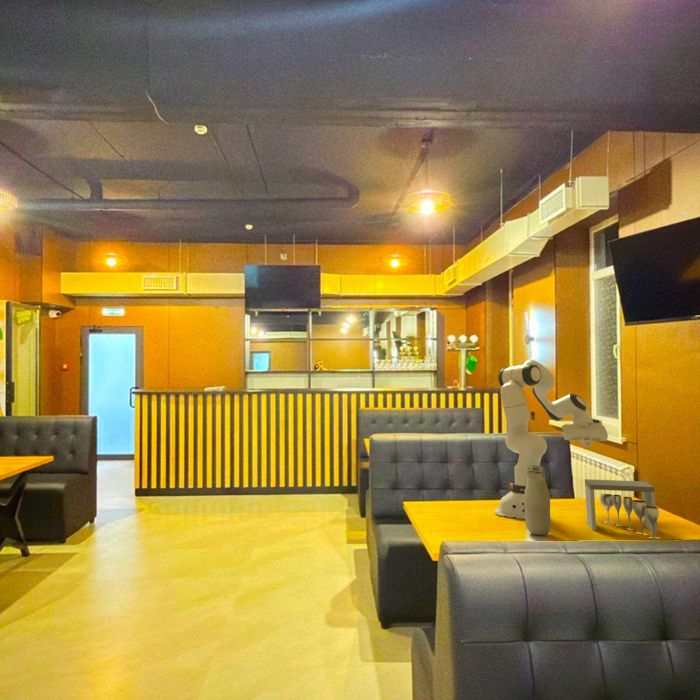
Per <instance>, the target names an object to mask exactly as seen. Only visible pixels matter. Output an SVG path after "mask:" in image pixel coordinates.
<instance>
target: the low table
mask: <svg viewBox="0 0 700 700" xmlns="http://www.w3.org/2000/svg"><path fill="white" fill-rule="evenodd" d="M584 490H585V508H586V510H585V511H586V523H587V525H588V526H589V527H590V529H591V530H592V531H593V530H596V531H597V519H596V518H597V516H596V515H597V514H596V501H595V500H596V499H595V498H596V497H595V490H596V491H597V490H598V491H600V490H601V491H615V492H616V491H619V492H620V491H621V492H622V491H623V492H640V493H642V500H643V501H646V504H647V506H654V507H657V504H656V489H655V486H653V485H652V484H650V483H649V482H647V481H642V480H641V481H639V480H617V479H615V480H613V479H587V478H585V479H584ZM643 518H644V519H643V521H644V522H643V523H644V527H645V528H646V529H647V530H648V531H651V532H652V534H653V530H652V525H651V523H650V521H649V520H648V518H647V517H646V514H645V516H644V517H643ZM596 531H595V532H596ZM651 532H650V533H651ZM654 534H658V535H659V532H658V520H657V521H656V522H655V524H654Z"/></svg>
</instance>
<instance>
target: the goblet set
mask: <svg viewBox="0 0 700 700" xmlns="http://www.w3.org/2000/svg"><path fill="white" fill-rule="evenodd" d="M599 501H600V504H601V505H602V506H603V507H604V508H605V510H606V514H607V520H602V523H604V524H608V523H613V522H614V521H612V520H610V519H609V517H610V515H609V512H610V509H611V508H612V507H613V506H614V508H615V510H616V513H617V521H618V522H617V524H616V525H618V526H621V525H622V524H620V510H621V507H622V505H623V508H624V511H625V512H626V514H627V519H628V526H629V527H626V528H627V529H630V530H632V529H633V528H632V529H631V514H632V511H633V513H634V514H635V515H636V516H637V518H638V520H639V526H640V527H639V528H640V531H637V532H638V533H641V534H644V531H643V528H642V527H643V526H642V523H643V518H644V516H645V514H646V517H647V518H648V520H649V521H650V523H651V525H652V530H653V533H652V535H650V536H651V537H652V538H649V539H651V540H655V539H659V540H661V537H659V538H657V537H658V536H656V537H655V535H654V524H655V522H656V521H657V522H658V519H659V517H660V511H659V510H660V509H659V507H657V506H656V507H654V506H647V504H646V501H643V499H633V498H632V497H631V496H623V499H622V495H620V494H610V493H601V494H600V496H599Z"/></svg>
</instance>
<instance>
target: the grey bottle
mask: <svg viewBox="0 0 700 700" xmlns="http://www.w3.org/2000/svg"><path fill="white" fill-rule="evenodd" d="M545 469H546V468H544V467H543V466H541V465H539V466H530V467H528V468H527V475H528V479H527V485H526V489H525V495H524V496H525V497H524V498H525V515H526V516H525V517H526V519H525V527H526V529H527V531H528V532H529V533H530V534H532V535H534V536H546V535H548V534H549V532H550V531H551V523H552V522H551V520H552V519H551V497H550V492H549V488H548V485H547V482H546V481H547V480H546V471H545Z"/></svg>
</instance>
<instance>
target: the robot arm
mask: <svg viewBox="0 0 700 700" xmlns="http://www.w3.org/2000/svg"><path fill="white" fill-rule="evenodd" d="M497 379H498V384H499V386H501V387H500V398H501V399H500V401H501V404H502V409H503V412H504V416H505V419H506V426H507V429H506V430H507V431H506V433H507V434H506V436H505V439H504V443H505V446H506V447H507V449H509V450H510V451H511V452H513V453H515V454H518V460H517V463H516V464H515V465H514V483H513V482H510V483H509V487H510V491H509V492H507V494H506V495H504V496H502V497H501V498H500V499H499V505H498V507H496V508H494V513H496V514H497V515H496V514H495V515H496V516H498V515H499V517H504V516H505V517H506V516H507V517H506V518H513V517H516V518H515V519H521V520H522V519H523V520H526V517H525V516H526V515H525V498H524V497H525V496H524V495H525V489H526V485H527V479H528V475H527V468H528V467H530V466H541V465H540V464H541V461H542V457H543V455H544V454H545V453H546V452H547V449H548V444H547V441H546V439H545V438H544V437H542V436H540V435H539V434H538V433H534V432H533V433H532V432H529V422H530V420H531V414H530V411H529V407H528V404H527V400H526V397H525V394H524V392H523V388H526V387H532V389H531V390H532V393H533V396H534V397H535V399H536V400H537V401H538V403H539V404H540V405H541V406H542V408H543V409H544V410H545V412H546V414H547V416H549V418H550V419H551V420H552V421H553V420H554V421H557V422H558V421H561V420H562V419H565V418H566V417H568V416H570V415H571V417H572V423H570V424H568V423H565V424H563V425H562V426H561V430H562V432H563V439H564V440H565V441H580V443H581V444H582V445H583V447H591V446H592V445H591V444H592V442H593V441H598V442H601V441H602V442H603V441H604V442H606V441H607V440H608V439H609V435H608V431H607V428H606V427H605V425H603V421H602V420H600V419H596V418H593V417H591V415H590V414H591V413H590V408H589V407H588V403H587V402H586V400H585V399H584V398H582V397H581V396H580V395H578V394H576V393H569V394H567V395H565V396H562V397H560V398H558V399H557V400H554V401H551V400H550V399H549V398H548V396H547V395H548V393H549V392H550V391H552V389H553V387H554V386H555V382H556V381H555V379H556V378H555V376H554V374H553V373H552V371H550V369H548V368H547V367H546V366H544V365H543V364H542V363H540V362H539V361H537V360H534V359H527V360H526V361H524V363H523V364H520V365H519V364H516V365H512V366H507V367H503V368H502V369H500V371H498V375H497ZM505 517H504V518H505Z"/></svg>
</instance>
